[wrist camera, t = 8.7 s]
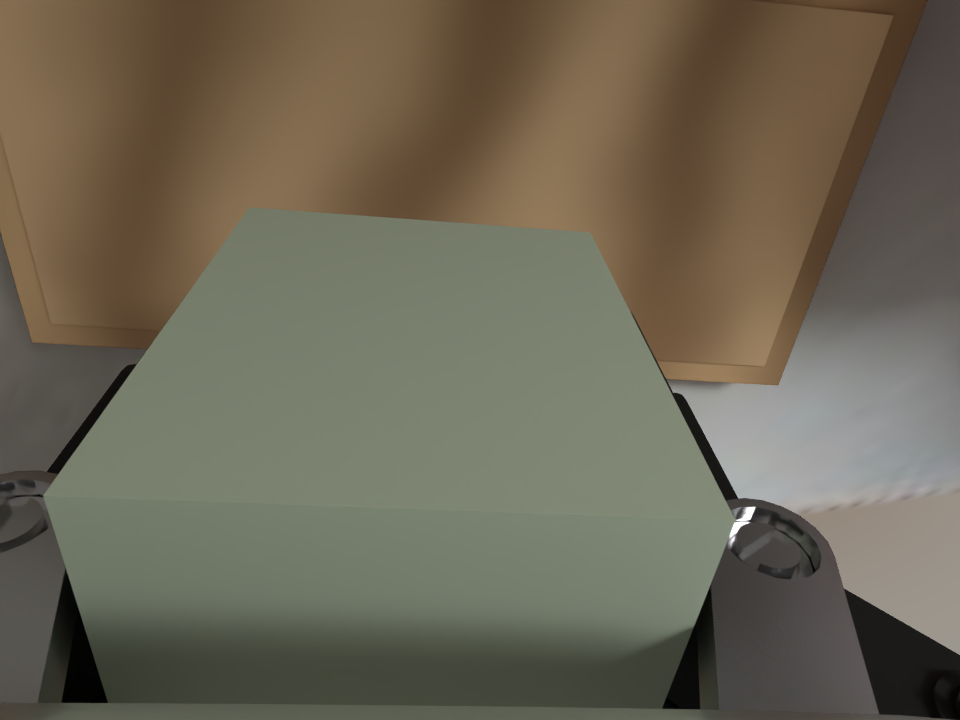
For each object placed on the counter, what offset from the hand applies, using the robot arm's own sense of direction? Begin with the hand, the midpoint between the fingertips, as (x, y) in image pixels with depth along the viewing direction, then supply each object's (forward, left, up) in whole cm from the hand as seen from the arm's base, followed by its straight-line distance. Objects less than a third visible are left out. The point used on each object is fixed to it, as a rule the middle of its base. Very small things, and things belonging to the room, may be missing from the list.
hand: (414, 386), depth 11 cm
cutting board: (0, 0, -11) cm, 11 cm away
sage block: (0, 0, -1) cm, 1 cm away
